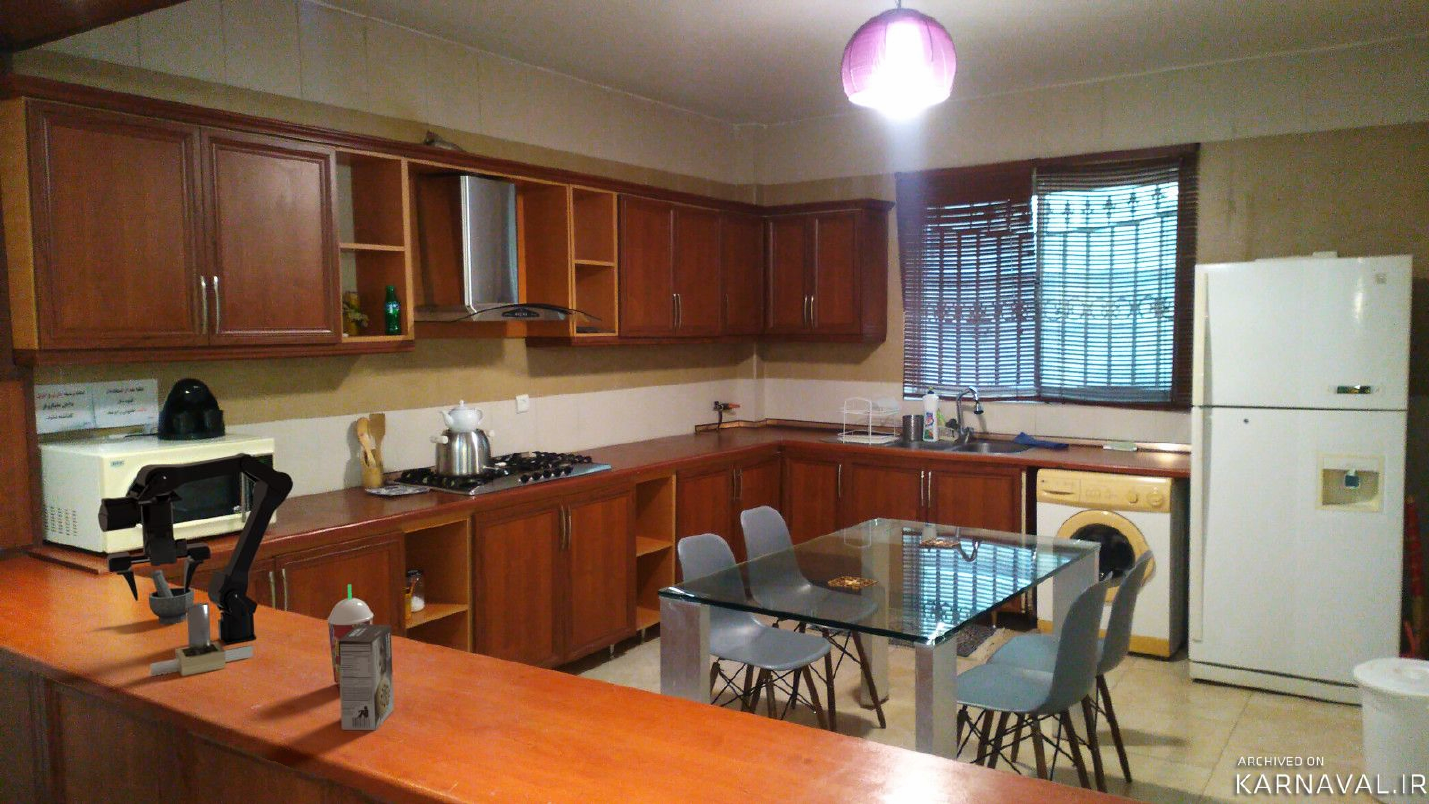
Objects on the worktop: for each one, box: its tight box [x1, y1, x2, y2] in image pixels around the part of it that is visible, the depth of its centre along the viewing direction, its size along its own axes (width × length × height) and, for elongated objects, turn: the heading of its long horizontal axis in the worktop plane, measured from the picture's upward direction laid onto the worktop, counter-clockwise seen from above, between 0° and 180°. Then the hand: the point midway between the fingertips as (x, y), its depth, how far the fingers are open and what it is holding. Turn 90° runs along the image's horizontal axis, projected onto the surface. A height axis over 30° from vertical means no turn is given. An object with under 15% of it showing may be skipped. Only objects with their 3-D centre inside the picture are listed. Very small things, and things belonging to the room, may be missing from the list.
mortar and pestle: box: [148, 569, 195, 626], centre depth 233 cm, size 11×9×12 cm
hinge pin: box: [186, 602, 211, 657], centre depth 201 cm, size 4×4×13 cm
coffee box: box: [338, 624, 395, 731], centre depth 173 cm, size 9×6×16 cm
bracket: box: [149, 641, 254, 677], centre depth 202 cm, size 19×8×4 cm, turn 127°
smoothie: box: [327, 584, 374, 689], centre depth 190 cm, size 8×8×20 cm
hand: (161, 596), depth 207 cm, fingers open, 9 cm apart
